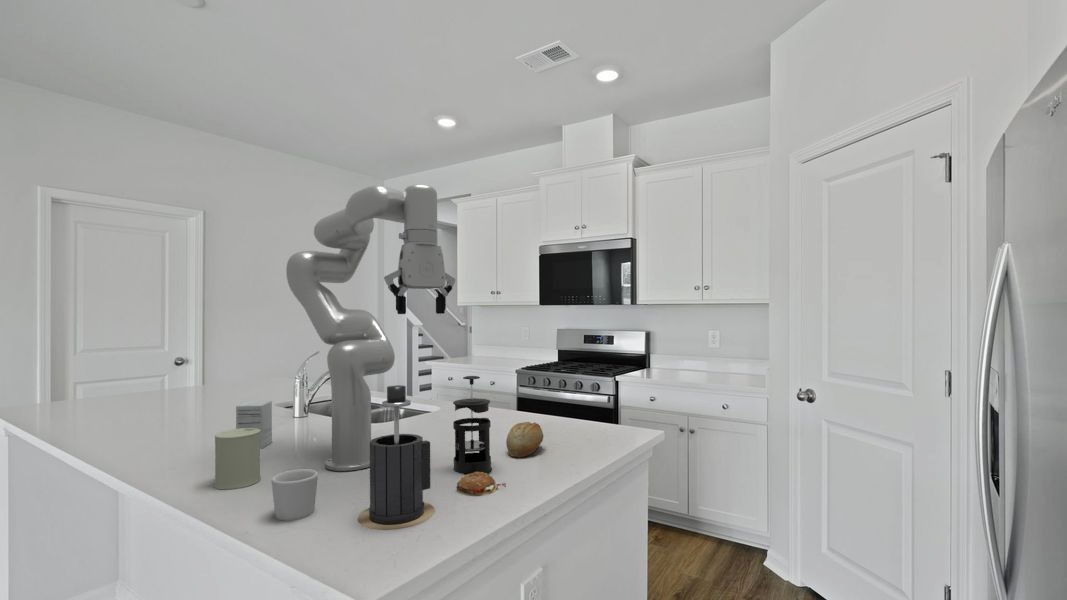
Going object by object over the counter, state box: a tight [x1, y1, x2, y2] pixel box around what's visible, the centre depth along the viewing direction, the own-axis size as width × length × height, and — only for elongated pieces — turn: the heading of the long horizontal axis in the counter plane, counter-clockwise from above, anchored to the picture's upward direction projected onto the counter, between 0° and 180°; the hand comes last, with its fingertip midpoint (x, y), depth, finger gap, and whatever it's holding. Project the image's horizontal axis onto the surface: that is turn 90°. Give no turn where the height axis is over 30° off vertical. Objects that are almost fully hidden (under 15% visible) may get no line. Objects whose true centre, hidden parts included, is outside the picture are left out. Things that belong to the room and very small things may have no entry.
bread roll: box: [505, 421, 544, 459], centre depth 139 cm, size 10×15×8 cm, turn 167°
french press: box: [452, 375, 493, 476], centre depth 123 cm, size 12×9×23 cm
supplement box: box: [235, 400, 273, 449], centre depth 148 cm, size 7×7×13 cm
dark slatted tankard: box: [368, 433, 431, 525], centre depth 95 cm, size 10×12×14 cm
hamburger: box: [455, 472, 507, 496], centre depth 109 cm, size 14×14×6 cm
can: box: [213, 428, 262, 491], centre depth 116 cm, size 9×9×12 cm
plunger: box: [381, 384, 412, 445], centre depth 95 cm, size 6×6×21 cm
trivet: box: [357, 501, 436, 531], centre depth 95 cm, size 14×14×1 cm
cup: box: [271, 468, 319, 521], centre depth 97 cm, size 11×8×8 cm
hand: (421, 313), depth 116 cm, fingers open, 9 cm apart
